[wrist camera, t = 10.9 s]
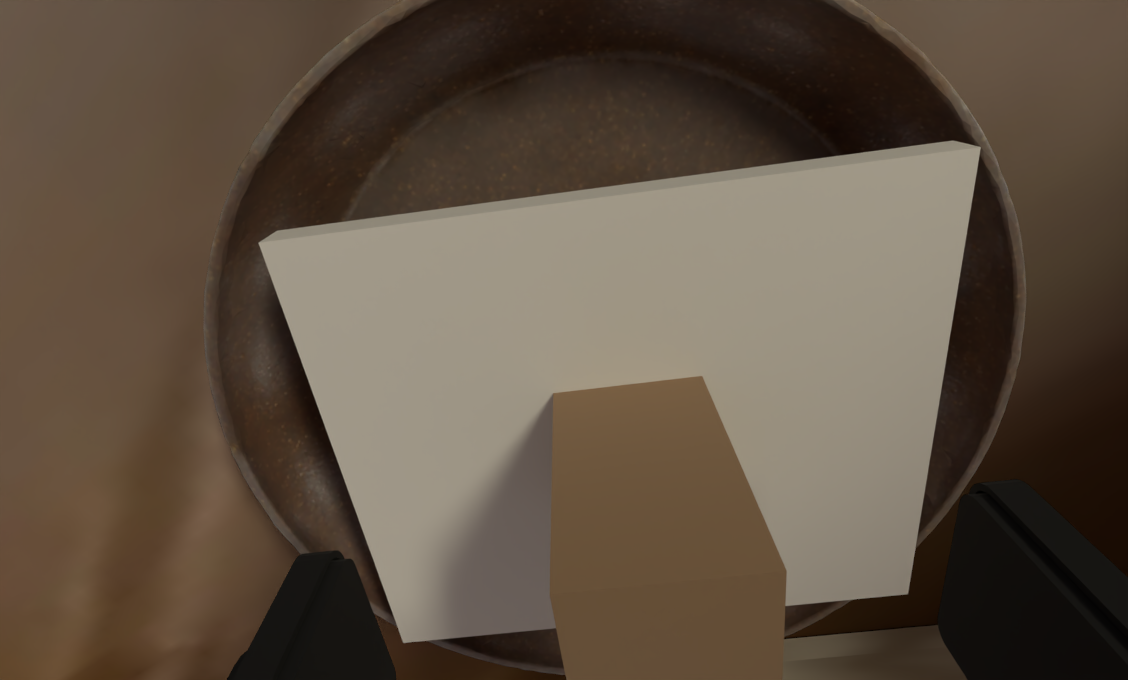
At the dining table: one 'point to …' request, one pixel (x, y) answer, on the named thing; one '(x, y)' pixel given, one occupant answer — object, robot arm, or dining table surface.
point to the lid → (640, 401)
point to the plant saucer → (570, 163)
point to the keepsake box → (871, 656)
